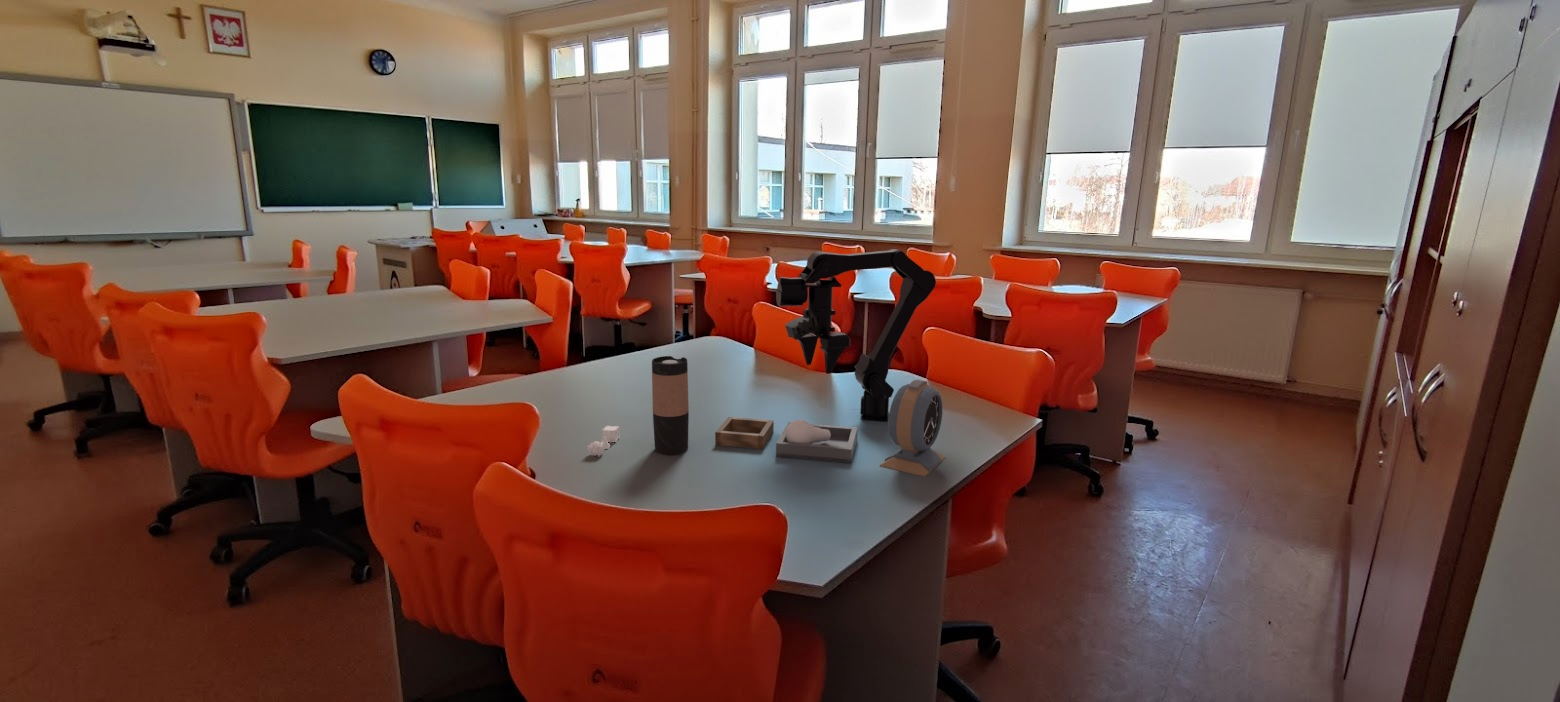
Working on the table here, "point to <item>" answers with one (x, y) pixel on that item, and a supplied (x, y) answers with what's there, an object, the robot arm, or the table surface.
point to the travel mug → (670, 404)
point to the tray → (821, 445)
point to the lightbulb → (805, 433)
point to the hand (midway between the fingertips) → (818, 369)
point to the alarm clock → (915, 428)
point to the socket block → (745, 440)
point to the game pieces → (604, 440)
